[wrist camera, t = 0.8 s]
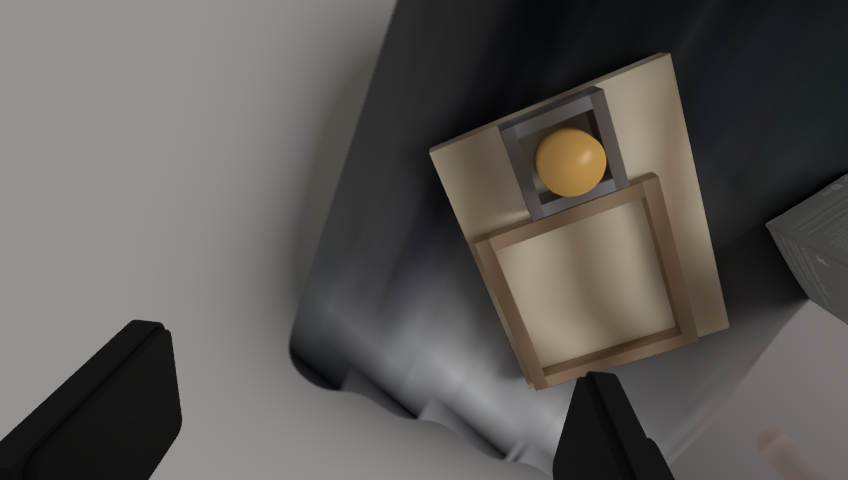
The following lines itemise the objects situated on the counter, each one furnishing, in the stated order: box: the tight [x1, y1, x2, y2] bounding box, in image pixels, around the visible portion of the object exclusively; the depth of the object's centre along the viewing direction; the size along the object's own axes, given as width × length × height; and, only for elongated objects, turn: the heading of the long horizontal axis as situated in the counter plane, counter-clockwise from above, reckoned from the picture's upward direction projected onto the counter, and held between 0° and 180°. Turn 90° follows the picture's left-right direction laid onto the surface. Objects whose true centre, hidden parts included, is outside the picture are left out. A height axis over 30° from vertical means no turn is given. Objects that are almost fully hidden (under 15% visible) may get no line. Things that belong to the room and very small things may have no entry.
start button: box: [534, 127, 606, 197], centre depth 28 cm, size 4×4×2 cm
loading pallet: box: [429, 53, 730, 391], centre depth 32 cm, size 15×20×4 cm
